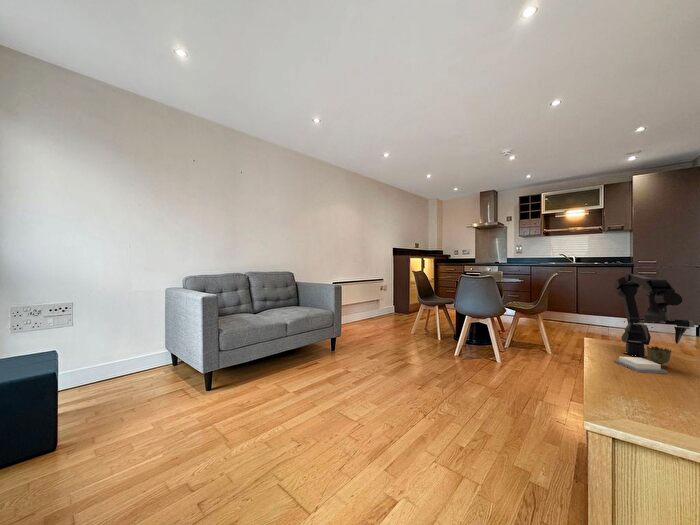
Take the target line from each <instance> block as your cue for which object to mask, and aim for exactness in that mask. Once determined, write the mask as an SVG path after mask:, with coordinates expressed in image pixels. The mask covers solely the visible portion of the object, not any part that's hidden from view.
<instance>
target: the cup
mask: <svg viewBox="0 0 700 525" xmlns="http://www.w3.org/2000/svg"><path fill="white" fill-rule="evenodd" d="M646 352H647V353H646V354H647V356H648V357H647V358H648V359H649V361H652V362H654V363H657V364H660V365H661V366H662V367H663V366H664V367H665V365H666V364H667V363H669V362H670V359H671V355H672V350H671V349H669V348H666V347H665V348H664V349H663V347H658V346H653V345H651V346H650V347H649V345H646ZM662 367H661V368H662ZM664 367H663V368H664Z"/></svg>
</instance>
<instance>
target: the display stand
mask: <svg viewBox="0 0 700 525" xmlns="http://www.w3.org/2000/svg"><path fill="white" fill-rule="evenodd" d="M613 362H614V363H615V364H617V363H618V365H620V366H622V365H623V366H622V367H624V366H625V368H627V367H628V368H627V369H629V368H630V369H629V370H632V371H635V372H636V371H637V373H643V372H646V373H645V374H648V373H649V374H662V373H667V374H668V370H666V369H663V368H662V367H661V365H660V364H657V363H654V362H653V361H651V360H650V359H649V360H648V359H646V358H644V357H634V356H619V357H618V359H613Z"/></svg>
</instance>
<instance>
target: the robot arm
mask: <svg viewBox="0 0 700 525" xmlns="http://www.w3.org/2000/svg"><path fill="white" fill-rule="evenodd" d="M613 287H614V289H615V291H616V293H617V295H618V296H620V298H621V300H622V303H623V308H624V313H625V317H626V321H627V325H626V327H625V328H624V333H622V336H620V337H621V342H624V343H625V352H627V354H626V355H628V354H630V355H629V356H631V355H633V356H632V357H634V356H635V355H636V356H645V355H646V353H645V352H646V351H645V350H646V348H645V346H649V345H650V343H651V338H652V336H651V334H650V331H649V327H648V325H647V324H654V325H655V324H657V325H658V324H659V325H670V326H672V325H673V327H674V330H675V334H674V335H675V337H674V342H675V344H679V343H680V340H681V339H682V337H683V335H684V333H685V332H686V331H687V330H690V329H691V328H695V323H694V321H693V320H688V319H674V320H671V319H670V318H669V317H670V316H669V312H670V310H669V308H668V307H671V306H672V307H675V306H679V305H681V304H682V302H683V297H682V296H681V295H680V294H679V293H677V292H676V291H675V290H676V289H675V288H673V286H672V285H671V284H670V282H669V281H668V279H667V278H651V277H648V276H644V275H642V274H638V273H627V274H625V275H624V276H622V277H620V278H618V279H617V280H616V282H615V283H614V284H613ZM640 287H641V288H642V289H643V290H645V292H647V293H646V294H645V297H647V304H648V307H647V311H646V312H644V313H643V317H640V313H639V309H638V308H639V307H638V304H637V301H636V294H638V289H639V288H640Z"/></svg>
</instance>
